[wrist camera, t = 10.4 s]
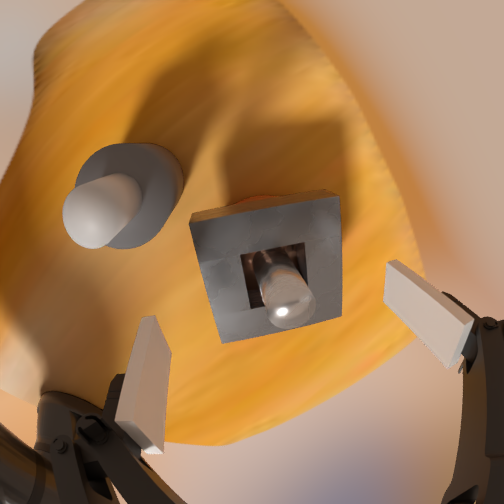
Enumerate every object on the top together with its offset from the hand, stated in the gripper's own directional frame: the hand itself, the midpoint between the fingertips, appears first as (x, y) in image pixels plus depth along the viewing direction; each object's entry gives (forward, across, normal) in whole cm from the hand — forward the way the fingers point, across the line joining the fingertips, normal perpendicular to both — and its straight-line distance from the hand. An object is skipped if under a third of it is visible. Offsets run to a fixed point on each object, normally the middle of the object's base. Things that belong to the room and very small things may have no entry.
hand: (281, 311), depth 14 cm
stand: (+9, -7, +7) cm, 14 cm away
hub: (+9, +1, 0) cm, 9 cm away
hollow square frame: (+6, +1, 0) cm, 6 cm away
